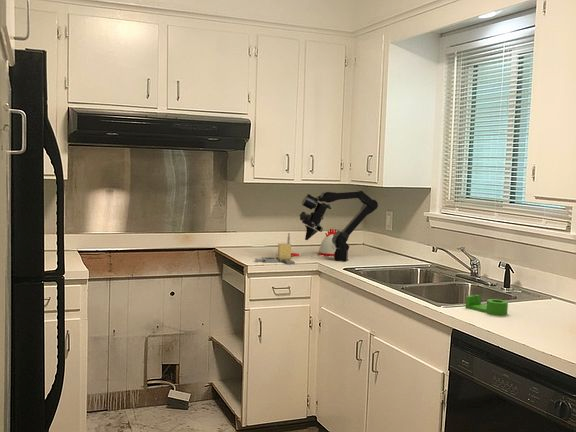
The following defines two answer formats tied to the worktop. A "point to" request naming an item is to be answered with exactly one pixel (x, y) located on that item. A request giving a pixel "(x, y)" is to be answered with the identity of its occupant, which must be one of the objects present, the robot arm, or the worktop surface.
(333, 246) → the kitchen timer
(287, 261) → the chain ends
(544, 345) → the worktop surface
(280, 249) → the yellow block
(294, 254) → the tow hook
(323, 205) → the robot arm
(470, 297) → the green ring bracket
